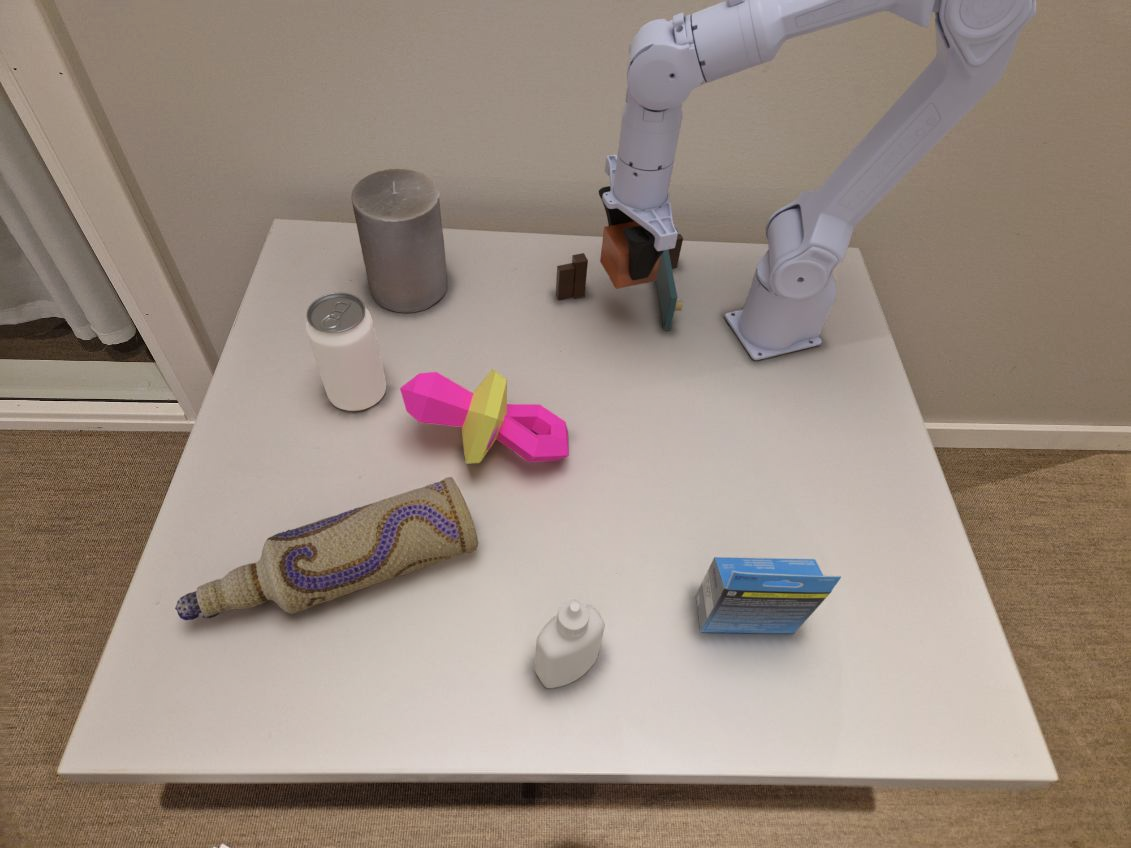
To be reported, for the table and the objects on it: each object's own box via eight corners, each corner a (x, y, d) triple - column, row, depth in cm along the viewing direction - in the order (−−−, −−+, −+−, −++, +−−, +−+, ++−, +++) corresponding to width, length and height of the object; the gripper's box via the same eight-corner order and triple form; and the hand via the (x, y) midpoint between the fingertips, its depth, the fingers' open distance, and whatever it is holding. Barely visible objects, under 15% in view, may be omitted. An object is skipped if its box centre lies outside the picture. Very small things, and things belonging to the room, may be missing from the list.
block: (638, 253, 87) (644, 218, 83) (655, 281, 84) (662, 246, 80) (599, 261, 85) (603, 226, 81) (615, 289, 82) (620, 254, 79)
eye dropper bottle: (533, 640, 64) (535, 580, 55) (596, 637, 65) (609, 578, 55) (535, 690, 62) (537, 637, 52) (600, 687, 62) (615, 633, 53)
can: (317, 406, 79) (289, 327, 70) (342, 363, 83) (319, 283, 73) (373, 419, 78) (353, 341, 69) (396, 375, 82) (380, 296, 73)
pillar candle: (369, 264, 93) (347, 160, 81) (445, 258, 95) (435, 155, 83) (370, 317, 88) (347, 213, 76) (452, 310, 89) (442, 207, 77)
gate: (554, 295, 92) (556, 259, 87) (671, 259, 97) (678, 223, 92) (560, 304, 91) (562, 268, 86) (678, 267, 96) (686, 231, 92)
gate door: (663, 329, 88) (670, 297, 84) (655, 277, 94) (661, 245, 90) (678, 329, 89) (686, 298, 84) (668, 277, 94) (675, 245, 90)
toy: (550, 509, 74) (589, 426, 69) (376, 456, 70) (404, 365, 65) (551, 457, 82) (585, 380, 78) (395, 407, 79) (422, 323, 74)
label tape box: (787, 596, 68) (832, 532, 58) (796, 638, 66) (844, 578, 56) (694, 594, 68) (724, 529, 58) (699, 636, 65) (731, 576, 56)
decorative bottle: (458, 497, 73) (453, 460, 68) (482, 561, 69) (479, 527, 64) (184, 583, 66) (155, 549, 61) (193, 660, 62) (162, 631, 57)
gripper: (583, 121, 76) (575, 228, 87) (638, 203, 68) (621, 310, 78) (645, 112, 77) (629, 218, 88) (705, 191, 69) (680, 297, 80)
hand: (629, 261), depth 83 cm, fingers closed on block, 5 cm apart
